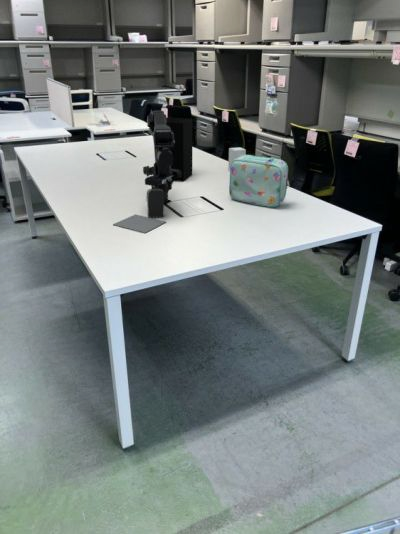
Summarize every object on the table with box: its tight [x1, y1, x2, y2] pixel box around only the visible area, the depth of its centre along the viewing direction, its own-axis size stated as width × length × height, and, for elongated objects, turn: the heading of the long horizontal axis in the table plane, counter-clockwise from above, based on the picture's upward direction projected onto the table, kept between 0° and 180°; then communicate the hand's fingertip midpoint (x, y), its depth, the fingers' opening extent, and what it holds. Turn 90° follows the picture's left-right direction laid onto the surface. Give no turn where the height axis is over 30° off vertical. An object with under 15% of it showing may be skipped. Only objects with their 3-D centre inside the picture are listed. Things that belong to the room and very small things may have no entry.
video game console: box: [167, 117, 194, 182], centre depth 231 cm, size 15×15×30 cm
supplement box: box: [227, 146, 247, 170], centre depth 250 cm, size 7×7×13 cm
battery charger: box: [146, 188, 165, 218], centre depth 179 cm, size 7×4×11 cm, turn 111°
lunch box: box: [228, 154, 290, 208], centre depth 196 cm, size 27×10×21 cm, turn 59°
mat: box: [112, 213, 168, 234], centre depth 174 cm, size 14×16×1 cm
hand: (164, 197), depth 184 cm, fingers closed
